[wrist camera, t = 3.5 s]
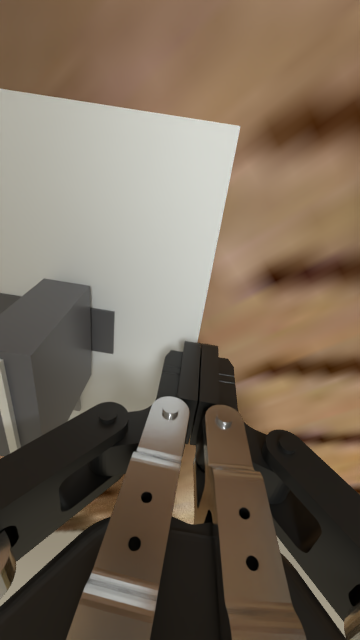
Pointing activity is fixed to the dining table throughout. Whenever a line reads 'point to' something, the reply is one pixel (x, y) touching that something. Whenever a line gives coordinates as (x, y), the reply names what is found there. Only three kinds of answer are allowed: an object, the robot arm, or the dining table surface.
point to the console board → (114, 226)
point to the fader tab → (43, 360)
